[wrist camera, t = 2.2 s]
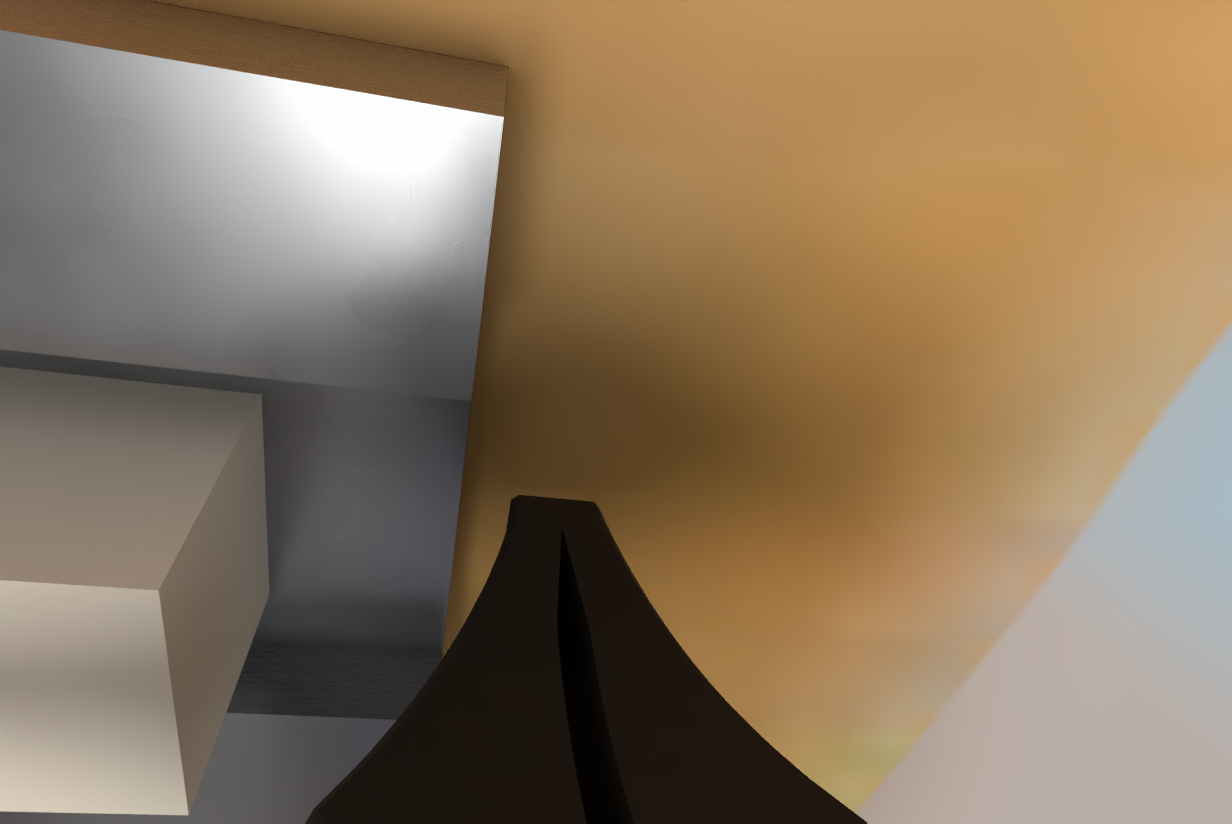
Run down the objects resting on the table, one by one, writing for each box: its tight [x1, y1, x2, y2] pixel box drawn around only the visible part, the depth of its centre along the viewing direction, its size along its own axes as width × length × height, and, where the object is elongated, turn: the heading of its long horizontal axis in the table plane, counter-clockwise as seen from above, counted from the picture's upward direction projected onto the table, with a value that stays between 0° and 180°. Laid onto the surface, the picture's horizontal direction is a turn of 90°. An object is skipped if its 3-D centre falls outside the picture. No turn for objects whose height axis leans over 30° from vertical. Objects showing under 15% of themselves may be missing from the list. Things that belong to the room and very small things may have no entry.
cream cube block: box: [0, 366, 270, 815], centre depth 11 cm, size 4×4×4 cm
